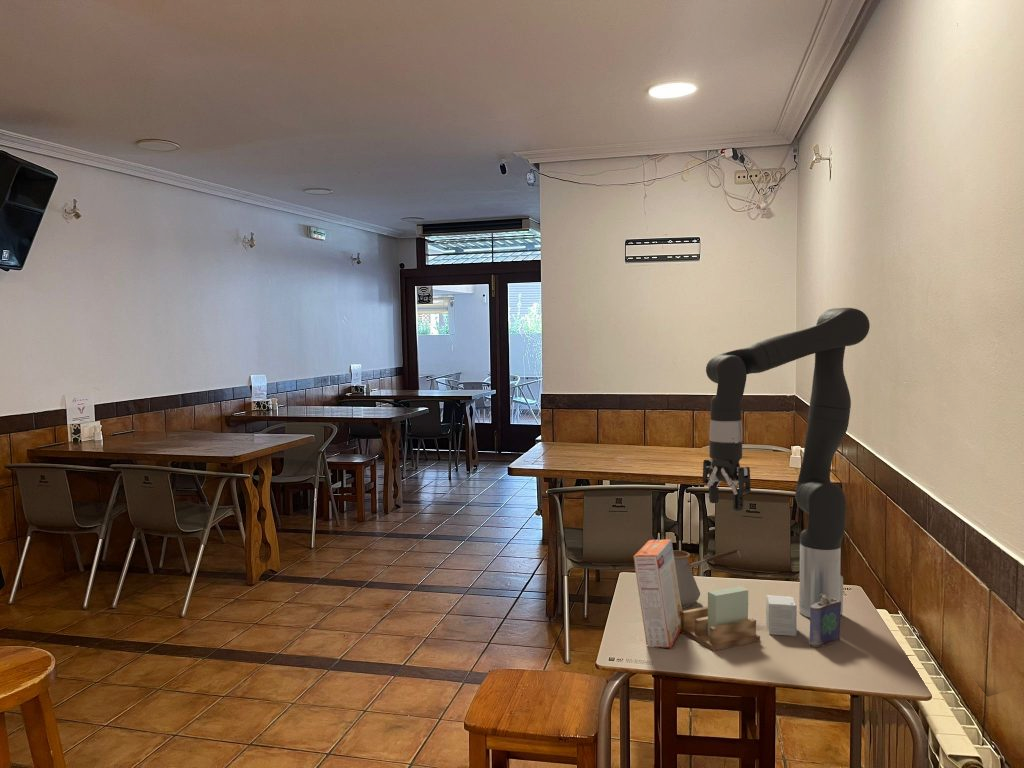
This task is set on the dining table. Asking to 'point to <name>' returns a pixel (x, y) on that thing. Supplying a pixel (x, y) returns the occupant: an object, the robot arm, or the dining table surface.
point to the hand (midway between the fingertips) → (725, 506)
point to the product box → (781, 615)
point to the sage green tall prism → (727, 606)
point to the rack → (717, 630)
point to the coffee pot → (690, 575)
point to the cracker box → (658, 593)
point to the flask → (825, 621)
